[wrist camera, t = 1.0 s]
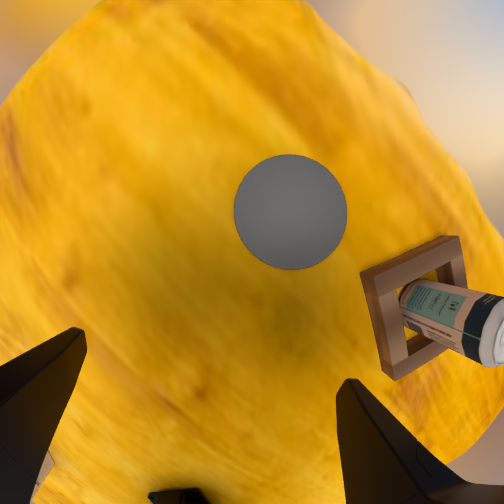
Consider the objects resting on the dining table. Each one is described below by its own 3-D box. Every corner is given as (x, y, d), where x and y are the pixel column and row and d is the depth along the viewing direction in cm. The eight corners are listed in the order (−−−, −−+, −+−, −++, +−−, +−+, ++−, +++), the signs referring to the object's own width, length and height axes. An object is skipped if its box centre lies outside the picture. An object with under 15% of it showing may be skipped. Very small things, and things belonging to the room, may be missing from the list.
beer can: (431, 325, 25) (518, 363, 13) (393, 330, 24) (482, 380, 12) (436, 277, 24) (532, 296, 13) (398, 278, 24) (498, 303, 12)
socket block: (456, 326, 25) (471, 331, 23) (382, 370, 24) (394, 381, 22) (442, 235, 24) (458, 235, 22) (359, 273, 24) (373, 276, 21)
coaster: (358, 247, 24) (360, 247, 23) (256, 285, 23) (257, 286, 23) (323, 144, 23) (324, 142, 23) (218, 175, 22) (217, 174, 22)
